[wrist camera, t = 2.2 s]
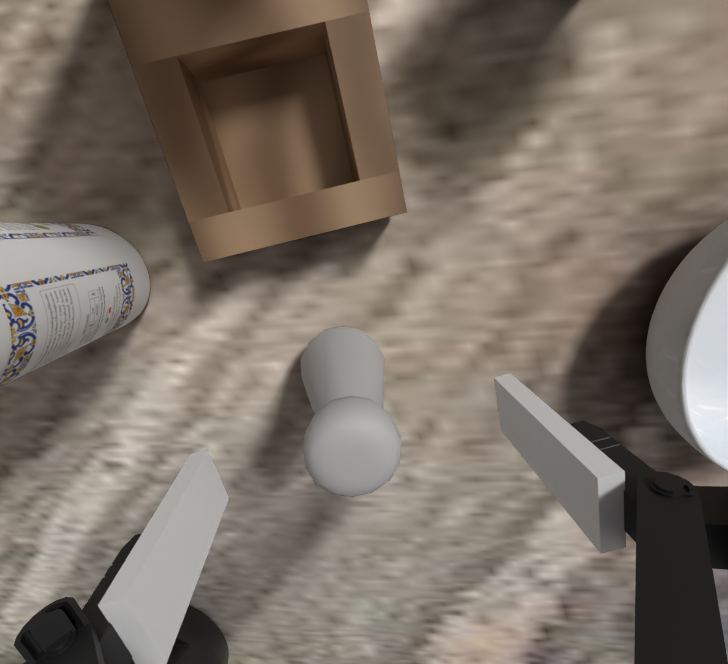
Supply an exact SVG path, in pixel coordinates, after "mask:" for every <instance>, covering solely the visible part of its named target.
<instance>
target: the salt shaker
mask: <svg viewBox="0 0 728 664" xmlns="http://www.w3.org/2000/svg"><path fill="white" fill-rule="evenodd" d="M384 360H385V359H384V356H383V354H382V352H381V350H380V348H379V346H378V344H377V342H376V341H375V340H374V339H372V338H371V337H370V336H368V335H367V334H366V333H365V332H363V331H362V330H360V329H355V328H350V327H346V326H341V327H336V328H332V329H327V330H324V331H323V332H322V333H320V334H319V335H318V336H317V337H315V338H314V339H313V340H312V341H310V343H309V344H308V346H307V348H306V350H305V352H304V354H303V356H302V358H301V377H302V380H303V383H304V386H305V389H306V392H307V395H308V398H309V401H310V404H311V407H312V410H313V413H314V416H313V418H312V420H311V422H310V424H309V425H308V427H307V429H306V431H305V435H304V439H303V441H304V460H305V466H306V469H307V470H308V472H309V474H310V476H311V477H312V479H313V481H314V482H315V484H317V485H318V486H320V487H322V488H323V489H325V490H327V491H328V492H330V493H332V494H336V495H343V496H349V497H355V496H359V495H363V494H367V493H371V492H374V491H375V490H377V489H378V488H379V487H381V486H382V485H384V484H385V483H387V482H388V481H390V479H391V477H392V476H393V474H394V472H395V471H396V469H397V467H398V465H399V463H400V449H401V438H400V434H399V432H398V429H397V427H396V425H395V423H394V421H393V419H392V417H391V415H390V413H389V412H388V411H387V410H385V409H384V408H383V397H384Z"/></svg>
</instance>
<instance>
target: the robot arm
mask: <svg viewBox="0 0 728 664" xmlns="http://www.w3.org/2000/svg"><path fill="white" fill-rule="evenodd" d="M494 382H495V390H496V397H497V404H498V412H499V419H500V427H501V431H502V432H503V433H504V434H505V435H506V437H507V438H508V439H509V440H510V442H511V443H512V444H513V445H514V447H515V448H516V449H517V450H518V452H519V453H520V454H521V455H522V457H523V458H524V459H525V460H526V461H527V463H528V464H529V465H530V466H531V468H532V469H533V470H534V471H535V473H536V474H537V475H538V476H539V478H540V479H541V480H542V481H543V483H544V484H545V485H546V486H547V488H548V489H549V490H550V491H551V492H552V494H553V495H554V496H555V497H556V499H557V500H558V501H559V502H560V504H561V505H562V506H563V507H564V509H565V510H566V511H567V512H568V514H569V515H570V516H571V517H572V519H573V520H574V521H575V522H576V523H577V525H578V526H579V527H580V528H581V530H582V531H583V532H584V533H585V535H586V536H587V537H588V538H589V540H590V541H591V542H592V543H593V545H594V546H595V547H596V548H597V549H598V551H599V552H600V553H605V552H609V551H613V550H616V549H620V548H624V547H626V532H627V533H628V534H629V535H630V537H631V538H632V539H633V540H634V541H635V542H636V597H635V664H728V661H727V654H726V648H725V642H724V636H723V630H722V624H721V618H720V612H719V606H718V600H717V594H716V588H715V582H714V576H713V570H712V568H714V569H728V487H714V486H694V485H692V484H691V483H690V482H689V481H687V480H685V479H683V478H681V477H679V476H677V475H673V474H670V473H666V472H656V471H654V470H653V469H652V468H650V467H649V466H648V465H647V464H645V463H644V462H643V461H641V460H640V459H639V458H638V457H636V456H635V455H634V454H632V453H631V452H630V451H628V450H627V449H626V448H625V447H623V446H622V445H621V446H620V444H619V443H618V442H617V441H616V440H614V439H613V438H610V436H609V435H608V434H606V433H605V432H604V431H603V430H601V429H600V428H599V427H597V426H594V425H592V424H589V423H587V422H584V421H581V422H577V423H573V424H569V423H568V422H567V421H565V420H564V419H563V418H562V417H561V416H560V415H558V414H557V413H556V412H555V411H554V410H553V409H551V408H550V407H549V406H548V405H547V404H546V403H544V402H543V401H542V400H541V399H540V398H539V397H537V396H536V395H535V394H534V393H533V392H531V391H530V390H529V389H528V388H527V387H526V386H524V385H523V384H522V383H521V382H520V381H519V380H517V379H516V378H515V377H514V376H513V375H512V374H507V375H503V376H499V377H495V378H494ZM228 500H229V497H228V495H227V493H226V491H225V488H224V486H223V484H222V481H221V479H220V477H219V474H218V472H217V470H216V467H215V465H214V463H213V461H212V458H211V456H210V454H209V451H208V450H204V451H200V452H196V453H192V454H190V456H189V458H188V459H187V461H186V463H185V464H184V466H183V467H182V469H181V471H180V472H179V474H178V476H177V477H176V479H175V480H174V482H173V484H172V485H171V487H170V489H169V490H168V492H167V494H166V495H165V497H164V498H163V500H162V502H161V503H160V505H159V507H158V508H157V510H156V511H155V513H154V515H153V516H152V518H151V520H150V521H149V523H148V524H147V526H146V528H145V529H144V531H143V533H142V534H138V535H135V536H134V537H133V538H132V539H131V540H130V541H129V542H128V543H127V544H126V545H125V546H124V547H123V548H122V549H121V551H120V552H119V554H118V555H117V557H116V558H115V560H114V562H113V565H112V566H110V568H109V569H108V571H107V572H106V574H105V578H103V579H102V580H101V582H100V583H99V585H98V586H97V588H96V589H95V591H94V592H93V594H92V596H91V597H90V599H89V600H88V602H87V603H86V605H85V606H84V608H83V609H82V610H81V608H80V607H79V605H78V604H77V602H76V601H75V600H74V598H72V597H65V598H62V599H59V600H56V601H55V602H53V603H51V604H49V605H48V606H46V607H44V608H43V609H42V610H41V611H39V612H38V613H37V614H36V615H34V616H33V617H32V618H31V619H30V620H29V621H28V622H27V623H26V625H25V626H24V627H23V628H22V630H21V631H20V633H19V634H18V635H17V637H16V640H15V644H14V646H15V647H16V649H17V650H18V651H19V652H20V654H21V655H22V656H23V658H24V659H25V660H26V661H27V662H25V663H24V664H228V647H227V643H226V640H225V638H224V636H223V634H222V632H221V631H220V629H219V628H218V627H217V626H216V625H215V624H214V622H213V621H211V620H210V619H209V618H208V617H207V616H205V615H204V614H202V613H201V612H199V611H198V610H196V609H194V608H192V607H190V606H189V603H190V600H191V598H192V595H193V592H194V590H195V587H196V584H197V582H198V579H199V576H200V574H201V571H202V568H203V566H204V563H205V561H206V558H207V555H208V553H209V550H210V547H211V545H212V542H213V539H214V537H215V534H216V531H217V529H218V526H219V523H220V521H221V518H222V515H223V513H224V510H225V507H226V505H227V502H228Z"/></svg>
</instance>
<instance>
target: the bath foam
mask: <svg viewBox="0 0 728 664" xmlns="http://www.w3.org/2000/svg"><path fill="white" fill-rule="evenodd" d="M149 293H150V279H149V274H148V271H147V268H146V265H145V263H144V261H143V259H142V258H141V256H140V255H139V253H138V252H137V251H136V249H135V248H134V247H133V246H132V245H131V244H130V243H129V242H128V241H126V240H125V239H124V238H122V237H121V236H119V235H118V234H116V233H114V232H112V231H110V230H108V229H105V228H103V227H99V226H95V225H90V224H66V223H0V387H1V386H3V385H5V384H7V383H9V382H11V381H13V380H15V379H17V378H19V377H21V376H23V375H26V374H28V373H30V372H32V371H34V370H36V369H38V368H40V367H42V366H44V365H46V364H48V363H50V362H52V361H54V360H56V359H58V358H60V357H62V356H64V355H66V354H68V353H70V352H72V351H74V350H76V349H78V348H80V347H82V346H85V345H87V344H89V343H91V342H93V341H95V340H97V339H99V338H101V337H103V336H105V335H107V334H109V333H111V332H113V331H115V330H117V329H119V328H121V327H123V326H125V325H126V324H128V323H129V322H131V321H132V320H134V319H135V318H136V317H137V316H138V315H139V314H140V313H141V312H142V310H143V309H144V307H145V305H146V303H147V301H148V298H149Z"/></svg>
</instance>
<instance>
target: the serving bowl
mask: <svg viewBox="0 0 728 664" xmlns="http://www.w3.org/2000/svg"><path fill="white" fill-rule="evenodd" d="M646 365H647V373H648V378H649V382H650V386H651V389H652V392H653V395H654V397H655V399H656V401H657V403H658V405H659V407H660V409H661V411H662V412H663V414H664V415H665V417H666V418H667V420H668V421H669V422H670V424H671V425H672V426H673V428H674V429H675V430H676V431H677V432H678V433H679V434H680V435H681V436H682V437H683V438H684V439H685V440H686V441H687V442H688V443H689V444H690V445H692V446H693V447H694V448H695V449H696V450H697V451H699V452H700V453H701V454H702V455H704V456H705V457H706V458H707V459H709V460H710V461H711V462H713V463H714V464H716V465H717V466H719V467H721V468H722V469H724V470H726V471H728V219H727V220H726V221H724V222H723V223H721V224H720V225H719V226H718V227H716V228H715V229H714V230H713V231H711V232H710V233H709V234H708V235H707V236H705V237H704V238H703V239H702V240H701V241H700V242H699V243H698V244H697V245H696V246H695V247H694V248H693V249H692V250H691V251H690V252H689V253H688V255H687V256H686V257H685V258H684V259H683V261H682V262H681V263H680V264H679V266H678V267H677V268H676V270H675V271H674V273H673V274H672V276H671V277H670V279H669V280H668V282H667V284H666V285H665V287H664V289H663V291H662V293H661V295H660V297H659V299H658V302H657V304H656V306H655V309H654V312H653V315H652V318H651V321H650V324H649V330H648V335H647V343H646Z"/></svg>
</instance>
